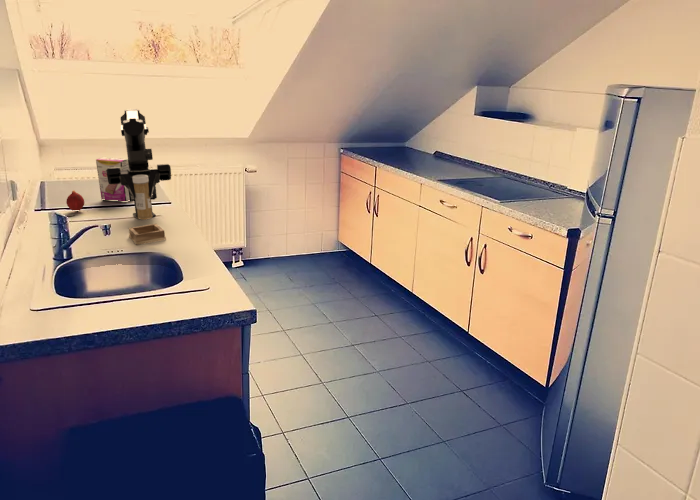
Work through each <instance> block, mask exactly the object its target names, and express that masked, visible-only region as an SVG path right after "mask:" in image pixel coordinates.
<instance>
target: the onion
mask: <svg viewBox="0 0 700 500" xmlns="http://www.w3.org/2000/svg"><path fill="white" fill-rule="evenodd" d="M65 202H66V206H67V207H68V208H69V209H70V210H72V211H73V210H79V211H81V210H82V209H83V208H84V205H85V199H84V198H83V196H82V194H79V193H78V192H76V191H75V190H74V189H73V190H72V191H71V193H70V194H69V195H68V196H67V198H66V201H65Z"/></svg>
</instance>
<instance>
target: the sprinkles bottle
mask: <svg viewBox="0 0 700 500" xmlns="http://www.w3.org/2000/svg"><path fill="white" fill-rule="evenodd" d="M132 178H133V183H134V190H135V200H136V207H137V213H138V219H137V220H150V219H152V218H153V217H152V216H153V215H152V212H153V209H152V210H151V203H152V200H151V201H150V194H149V186H148V181H149V179H148V176H147V175H135V176H133V177H132Z"/></svg>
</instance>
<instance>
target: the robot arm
mask: <svg viewBox="0 0 700 500" xmlns="http://www.w3.org/2000/svg"><path fill="white" fill-rule="evenodd" d="M146 123H147V122H146V117H145V115H143V114H142V113H141V112H140V109H138V108H126V109H124V113H123V114H122V115H121V116H120V132H121V136H122V137H124V139H125V140H124V141H125V148H126V154H127V159H128V165H129V171H128V170H120V167H111V168H107V170H106V171H107V178H108V183H109V184H120V183H121V185H123V186H126V188H127V189H128V191H129V198H130V202H133V204H134V209H135V210H134V211H135V213H134V212H133V213H132V215H133V217H134V218H135V219H137V220H139V219H138V213H137V207H136V200H135V190H134V183H133V178H132V177H133V176H135V175H147V176H148V179H149V181H148V186H149V194H150V201H151V210H152V215H153V216H152V218H154V217H156V216H157V215H156V214H155V213H154V212H153V206H152V204H153V203H152V201H153V200H154V201H155V200H156V199H157V198H158V196H157V187H156V185H157V184H159V183H160V182H164V181H170V180H172V169H171V165H170V164H169V163H164V164H160V163H159V164H156V168H154V169H153V168H152V169H150V168H149V161H153V151H152V150H153V149H152V148H146V139H145V138H146V136H147V135H148V133H149V134H150V131H149V127H148V126H147V124H146Z"/></svg>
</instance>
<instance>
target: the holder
mask: <svg viewBox="0 0 700 500" xmlns="http://www.w3.org/2000/svg"><path fill="white" fill-rule="evenodd" d="M128 232H129V234H128V237H129V239H130V240H132V242H134V244H135V245H136V246H137V245H143V244H149V243H150V244H151V243H155V242H160V241H166V240H167V237H166V236H165V233H166V232H165V230H164V229H163V228H162V227H161V226H160V225H159V224H157V223H150V224H146V225H145V224H144V225H140V226H139V225H138V226H133V227H129V228H128Z"/></svg>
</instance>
